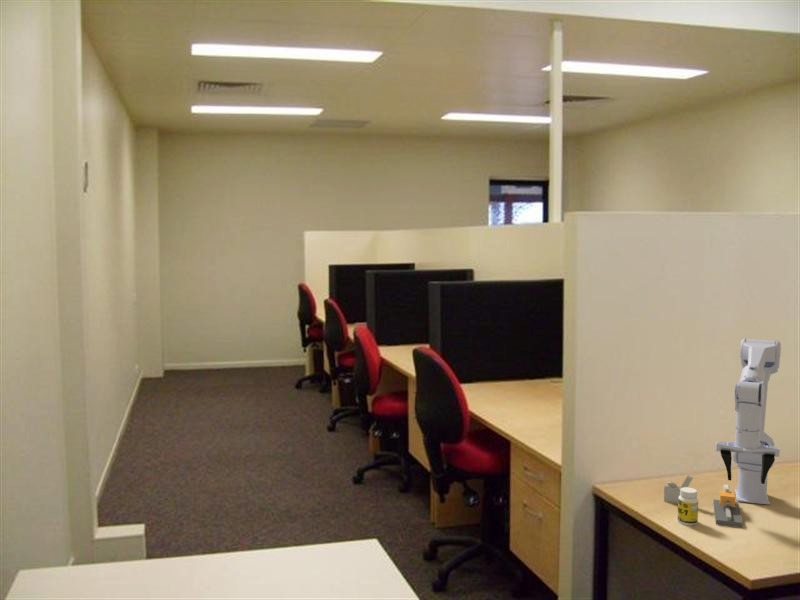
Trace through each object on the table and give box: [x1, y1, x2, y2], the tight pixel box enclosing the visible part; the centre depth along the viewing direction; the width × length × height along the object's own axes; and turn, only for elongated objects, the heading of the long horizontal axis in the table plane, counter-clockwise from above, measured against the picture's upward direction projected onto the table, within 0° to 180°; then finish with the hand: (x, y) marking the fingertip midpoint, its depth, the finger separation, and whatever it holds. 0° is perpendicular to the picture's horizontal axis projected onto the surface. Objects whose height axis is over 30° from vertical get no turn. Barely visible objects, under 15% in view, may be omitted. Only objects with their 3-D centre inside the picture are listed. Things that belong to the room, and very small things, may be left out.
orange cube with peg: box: [718, 490, 736, 506], centre depth 194 cm, size 5×4×2 cm, turn 159°
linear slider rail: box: [713, 484, 743, 528], centre depth 192 cm, size 15×6×6 cm, turn 159°
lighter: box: [663, 474, 694, 505], centre depth 201 cm, size 7×2×8 cm, turn 55°
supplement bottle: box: [677, 486, 699, 526], centre depth 188 cm, size 5×5×8 cm
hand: (745, 480), depth 189 cm, fingers open, 7 cm apart
